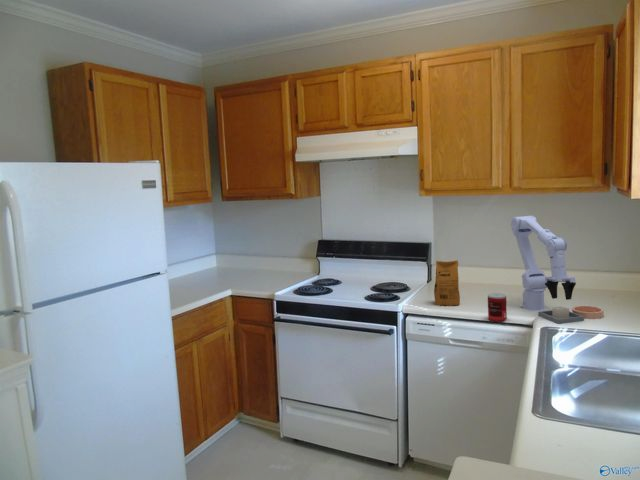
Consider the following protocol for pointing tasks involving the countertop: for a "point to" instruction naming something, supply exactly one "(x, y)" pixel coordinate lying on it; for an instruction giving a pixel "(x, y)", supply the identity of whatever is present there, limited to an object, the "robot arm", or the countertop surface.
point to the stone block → (560, 312)
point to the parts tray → (572, 318)
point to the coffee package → (447, 283)
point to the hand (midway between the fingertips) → (561, 298)
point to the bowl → (588, 312)
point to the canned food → (497, 307)
